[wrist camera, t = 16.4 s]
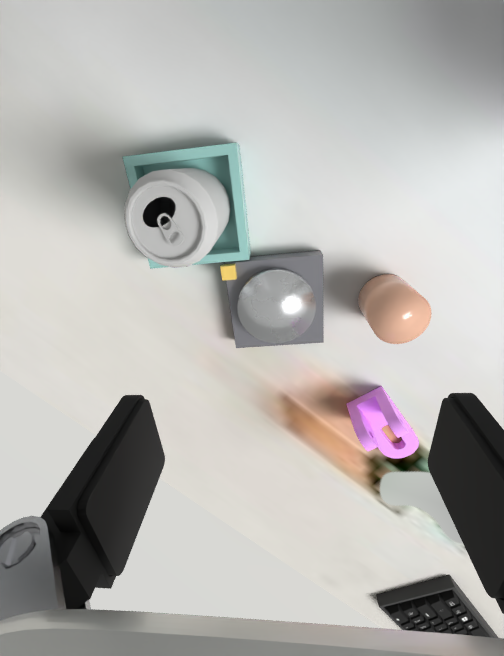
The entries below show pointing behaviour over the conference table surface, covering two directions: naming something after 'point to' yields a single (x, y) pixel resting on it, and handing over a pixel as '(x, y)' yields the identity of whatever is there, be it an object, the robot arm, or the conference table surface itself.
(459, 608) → the computer keyboard
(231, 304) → the base
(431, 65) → the conference table surface
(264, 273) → the checker pad
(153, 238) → the can
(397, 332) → the peach rounded knob
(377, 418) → the bracket
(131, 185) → the trough
